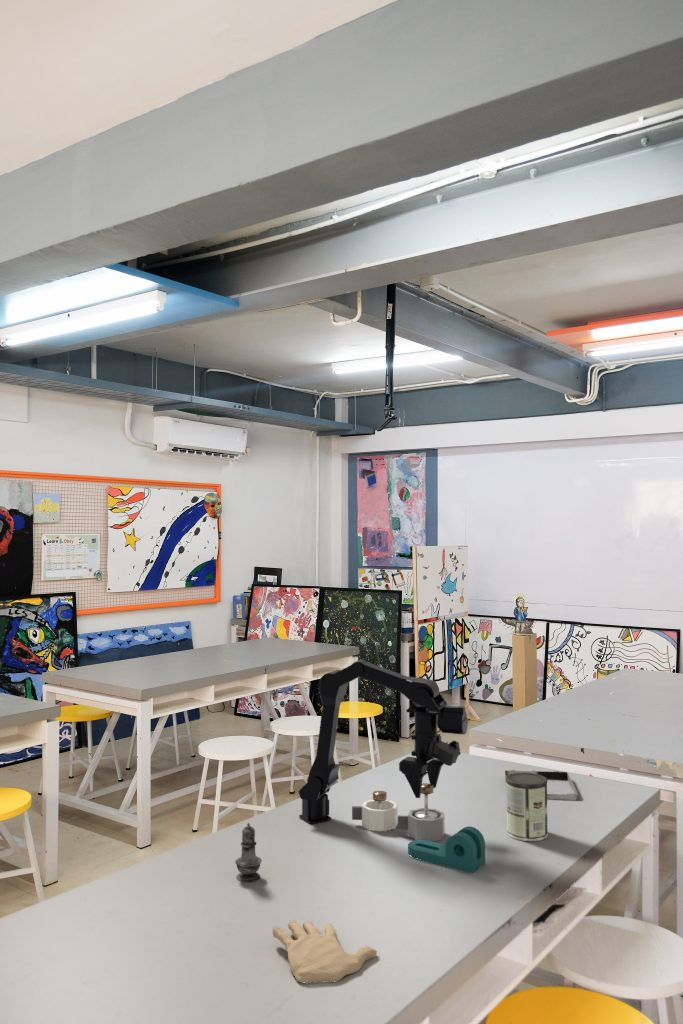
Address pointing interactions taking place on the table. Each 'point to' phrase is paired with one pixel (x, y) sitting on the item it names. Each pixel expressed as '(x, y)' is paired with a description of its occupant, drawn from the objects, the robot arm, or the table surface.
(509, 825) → the coffee can
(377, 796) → the brown and grey doorknob
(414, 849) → the bracket
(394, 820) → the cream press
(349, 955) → the hand model
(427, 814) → the coffee tamper
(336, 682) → the robot arm
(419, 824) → the grey octagonal hollow piece
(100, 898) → the table surface
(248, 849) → the salt shaker
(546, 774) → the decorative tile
